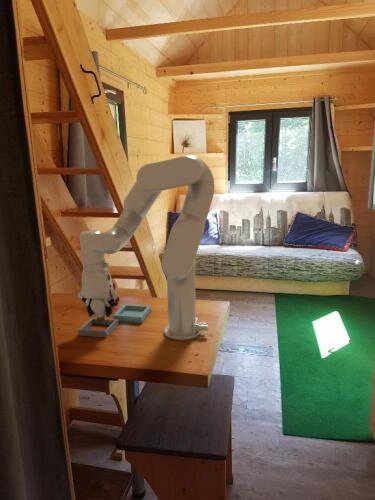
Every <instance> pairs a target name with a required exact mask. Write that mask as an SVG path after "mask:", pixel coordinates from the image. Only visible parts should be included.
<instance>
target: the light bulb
mask: <svg viewBox="0 0 375 500" xmlns="http://www.w3.org/2000/svg"><path fill="white" fill-rule="evenodd" d="M90 306H91V309H92V310H93V311H94V312H95V313H94V315H95V316H96V318H97V322H99V323H103V322H104V321H105V317H106V311H105V307H106V304H105V302H104V300H103V299H92V301H91V304H90Z"/></svg>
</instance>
